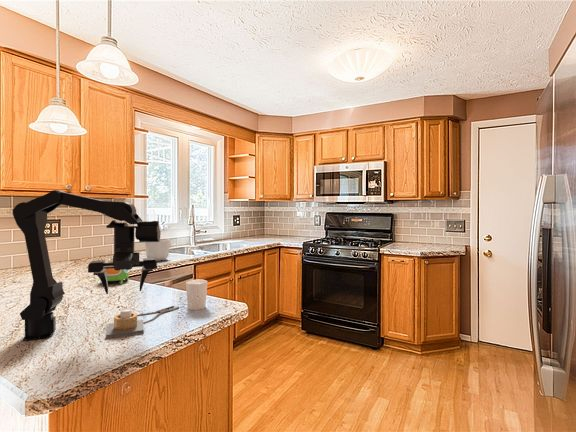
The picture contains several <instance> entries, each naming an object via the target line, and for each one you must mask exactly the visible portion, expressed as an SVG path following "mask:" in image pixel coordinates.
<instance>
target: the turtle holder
mask: <svg viewBox="0 0 576 432" xmlns="http://www.w3.org/2000/svg"><path fill="white" fill-rule="evenodd" d="M111 262H113V257H112V258H109V259H108V261H106V263H111ZM105 270H106V273H107V282H118V281H119V282H118V283H119V284H120V285H122V284H123V283H124V280H125V281H126V282H127V281H129V280H130V279H129V277H130V274H129V273H130V270H126V269H124V270H118V271H117V270H114V268H111V269H105Z"/></svg>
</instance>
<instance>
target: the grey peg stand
mask: <svg viewBox="0 0 576 432" xmlns="http://www.w3.org/2000/svg"><path fill="white" fill-rule="evenodd" d="M131 313H132V309H129V308H128V309H121V310H120V313H119V314H120V318H129V317H131ZM143 322H144V319H137V327H135V328H134V329H130V330H125V331H117V330H114V322H112V323H108V325H107V330H106V333H105V334H106V335H105V339H113V338H119V337H125V336H126V337H127V336H133V335H141V334H144V329H145V328H144V324H143Z"/></svg>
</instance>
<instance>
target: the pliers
mask: <svg viewBox="0 0 576 432" xmlns="http://www.w3.org/2000/svg"><path fill="white" fill-rule="evenodd" d="M179 308H180V306H176V307H175V305H172V306H168V307H165V308H162V309H159V310H156V311H151V312H145V313H140V314H137V317H143V316H149V315H155V314H156V315H155V316H154V317H153V318H151V319H149V320H146V321H143V325H145V324H148V323H150V322H153V321H155V320H156V319H158V318H159V317H160V316H161V315H164V314H166V313H170V312H174V311H176V310H179Z"/></svg>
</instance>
